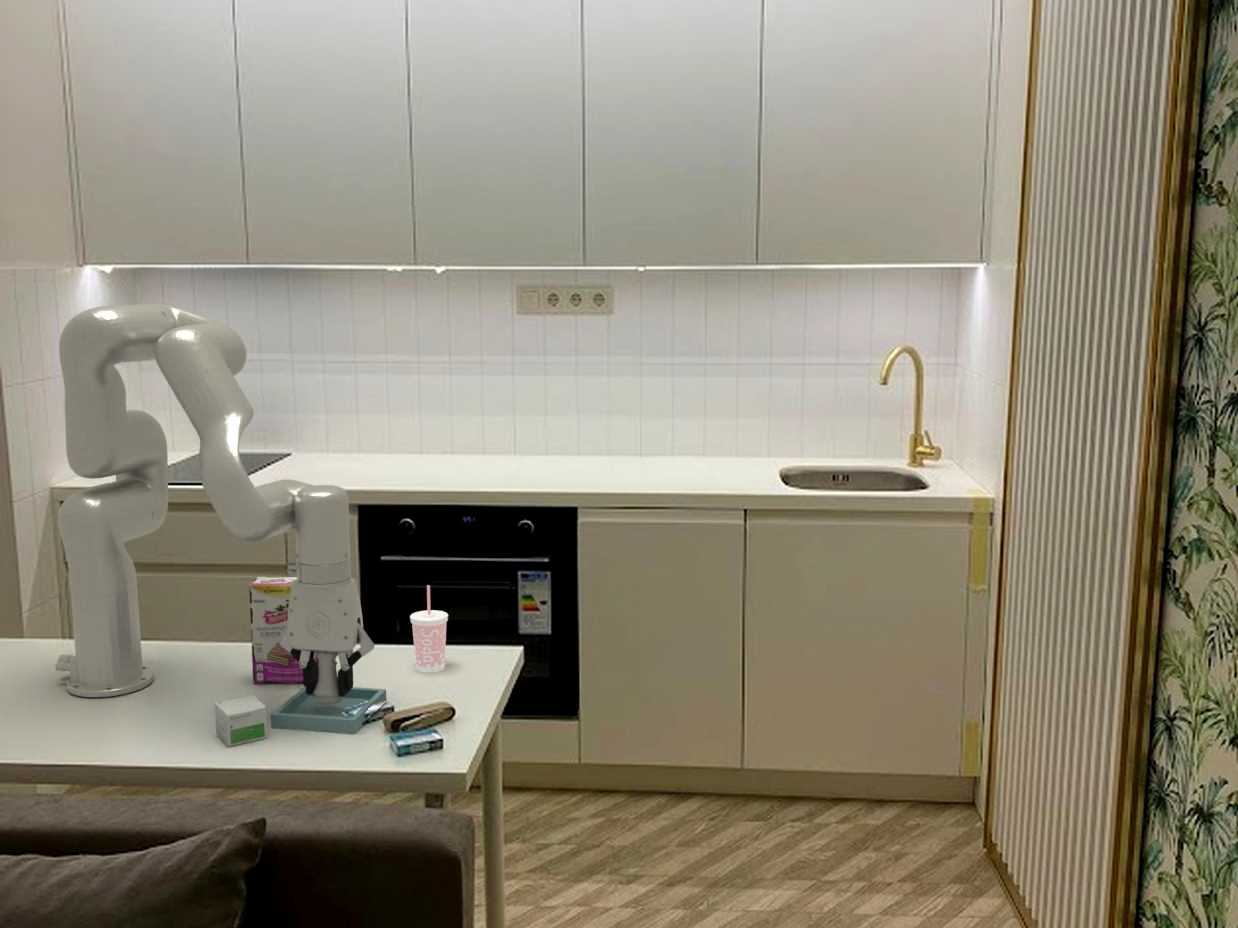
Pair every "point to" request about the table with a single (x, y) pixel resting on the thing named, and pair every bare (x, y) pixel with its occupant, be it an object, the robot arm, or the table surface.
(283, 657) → the candy bar box
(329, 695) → the rook chess piece
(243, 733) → the small box
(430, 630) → the beverage cup
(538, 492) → the table surface
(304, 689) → the tray
